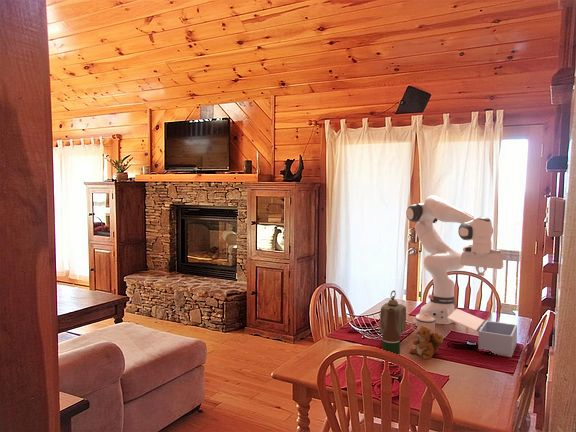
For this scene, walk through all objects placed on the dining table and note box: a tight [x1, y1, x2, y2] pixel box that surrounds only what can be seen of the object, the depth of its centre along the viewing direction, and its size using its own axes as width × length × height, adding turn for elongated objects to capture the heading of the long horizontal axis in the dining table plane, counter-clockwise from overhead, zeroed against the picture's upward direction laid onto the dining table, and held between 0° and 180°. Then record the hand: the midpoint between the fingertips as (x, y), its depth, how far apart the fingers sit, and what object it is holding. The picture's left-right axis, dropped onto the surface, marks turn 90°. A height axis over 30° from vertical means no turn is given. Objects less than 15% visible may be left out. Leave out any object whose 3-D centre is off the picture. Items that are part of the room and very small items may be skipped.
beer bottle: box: [381, 309, 401, 365], centre depth 197 cm, size 8×8×24 cm
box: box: [477, 320, 518, 358], centre depth 217 cm, size 20×14×10 cm
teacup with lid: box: [410, 313, 436, 333], centre depth 235 cm, size 12×9×12 cm
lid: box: [447, 308, 487, 333], centre depth 224 cm, size 20×15×1 cm
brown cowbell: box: [379, 289, 407, 336], centre depth 229 cm, size 14×9×25 cm, turn 149°
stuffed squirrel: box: [409, 326, 444, 360], centre depth 209 cm, size 10×14×13 cm
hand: (480, 275), depth 233 cm, fingers closed
